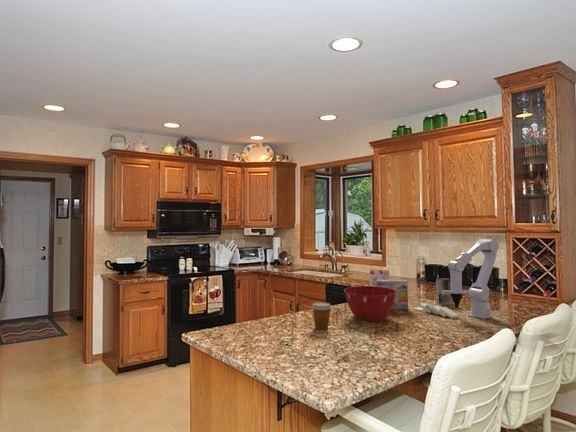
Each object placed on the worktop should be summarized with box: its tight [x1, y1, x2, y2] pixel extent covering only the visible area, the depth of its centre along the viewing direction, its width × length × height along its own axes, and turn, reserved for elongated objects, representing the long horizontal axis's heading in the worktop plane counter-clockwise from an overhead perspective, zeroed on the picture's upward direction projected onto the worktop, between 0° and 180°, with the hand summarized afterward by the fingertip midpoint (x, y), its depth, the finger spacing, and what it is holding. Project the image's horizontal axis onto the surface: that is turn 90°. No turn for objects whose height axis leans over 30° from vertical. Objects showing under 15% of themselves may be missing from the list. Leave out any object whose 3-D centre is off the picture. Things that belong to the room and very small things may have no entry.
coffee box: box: [435, 277, 454, 306], centre depth 258 cm, size 9×6×16 cm
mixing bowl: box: [343, 285, 397, 322], centre depth 220 cm, size 28×28×15 cm
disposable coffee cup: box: [311, 301, 332, 331], centre depth 199 cm, size 10×10×12 cm
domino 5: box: [439, 306, 459, 320], centre depth 222 cm, size 2×5×9 cm
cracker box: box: [369, 267, 390, 287], centre depth 273 cm, size 14×6×21 cm, turn 25°
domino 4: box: [432, 305, 449, 318], centre depth 226 cm, size 2×5×9 cm
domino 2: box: [418, 302, 434, 314], centre depth 235 cm, size 2×5×9 cm
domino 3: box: [425, 303, 440, 316], centre depth 231 cm, size 2×5×9 cm
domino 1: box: [412, 306, 428, 314], centre depth 238 cm, size 2×5×9 cm
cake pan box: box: [377, 279, 409, 311], centre depth 243 cm, size 19×5×18 cm, turn 76°
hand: (456, 307), depth 218 cm, fingers closed
